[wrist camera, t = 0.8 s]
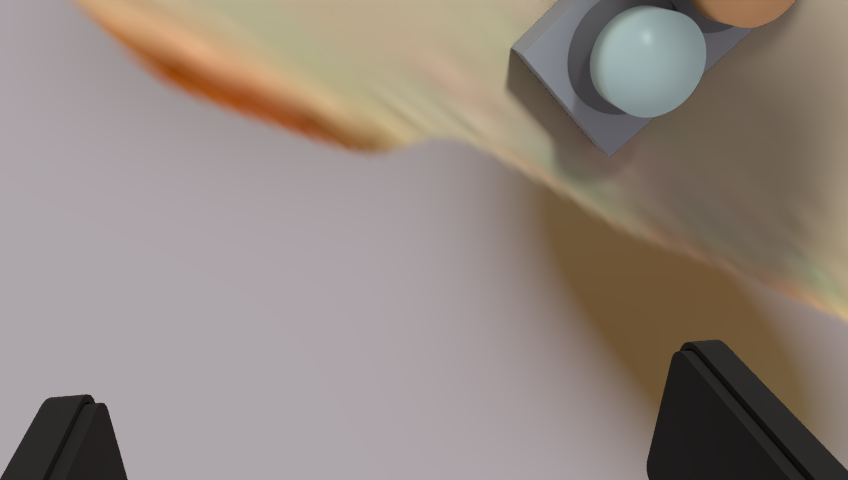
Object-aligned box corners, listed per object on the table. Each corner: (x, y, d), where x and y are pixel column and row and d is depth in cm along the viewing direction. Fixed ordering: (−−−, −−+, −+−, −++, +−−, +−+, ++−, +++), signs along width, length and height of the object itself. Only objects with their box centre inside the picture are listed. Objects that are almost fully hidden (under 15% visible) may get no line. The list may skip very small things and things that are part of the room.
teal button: (650, -18, 30) (671, -14, 28) (701, 57, 32) (724, 65, 30) (570, 58, 31) (586, 66, 29) (625, 126, 33) (643, 138, 31)
